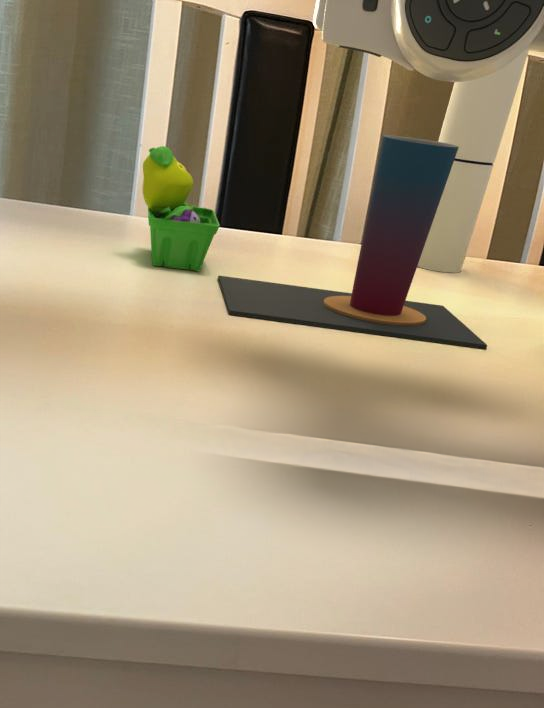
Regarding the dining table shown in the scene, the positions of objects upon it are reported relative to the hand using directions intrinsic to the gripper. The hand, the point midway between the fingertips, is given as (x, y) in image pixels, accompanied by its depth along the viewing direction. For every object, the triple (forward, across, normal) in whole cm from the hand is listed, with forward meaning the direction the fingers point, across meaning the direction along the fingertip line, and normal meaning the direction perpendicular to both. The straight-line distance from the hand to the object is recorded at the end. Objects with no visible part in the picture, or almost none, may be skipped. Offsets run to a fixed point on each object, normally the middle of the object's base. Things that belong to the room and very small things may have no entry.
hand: (456, 15), depth 76 cm
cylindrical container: (+50, -7, +25) cm, 57 cm away
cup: (+12, 0, +24) cm, 27 cm away
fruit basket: (+22, +23, +25) cm, 41 cm away
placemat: (+11, +3, +25) cm, 28 cm away
